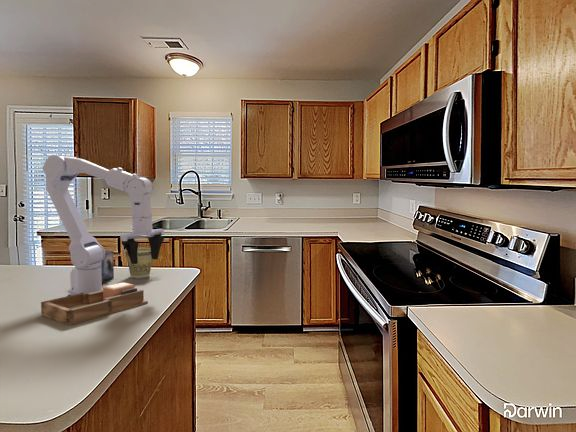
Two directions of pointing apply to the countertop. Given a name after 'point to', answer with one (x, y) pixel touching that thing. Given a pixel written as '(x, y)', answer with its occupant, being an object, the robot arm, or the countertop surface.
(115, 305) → the wooden tray
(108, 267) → the small box
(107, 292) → the block
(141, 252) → the ceramic cup
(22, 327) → the countertop surface
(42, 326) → the countertop surface
